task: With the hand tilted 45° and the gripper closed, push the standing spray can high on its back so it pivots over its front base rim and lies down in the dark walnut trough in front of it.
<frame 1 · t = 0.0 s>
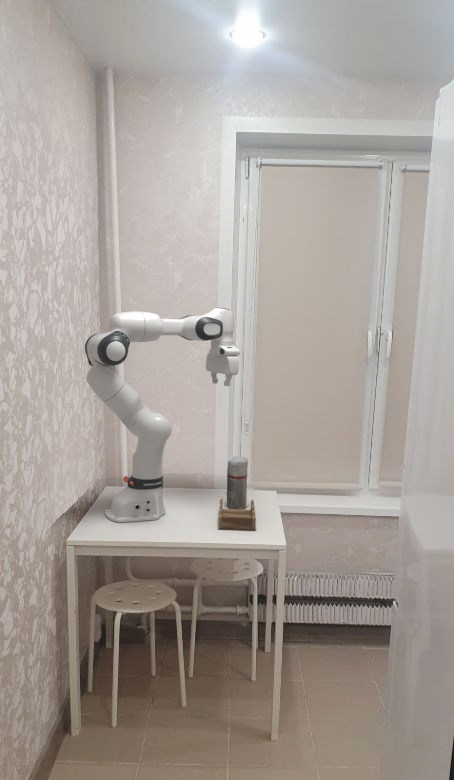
hand: (220, 384, 238), 48 cm above the table, tool pointing down, fingers open, 8 cm apart
spray can: (236, 507, 239), on the table
walnut trough: (236, 519, 223), on the table
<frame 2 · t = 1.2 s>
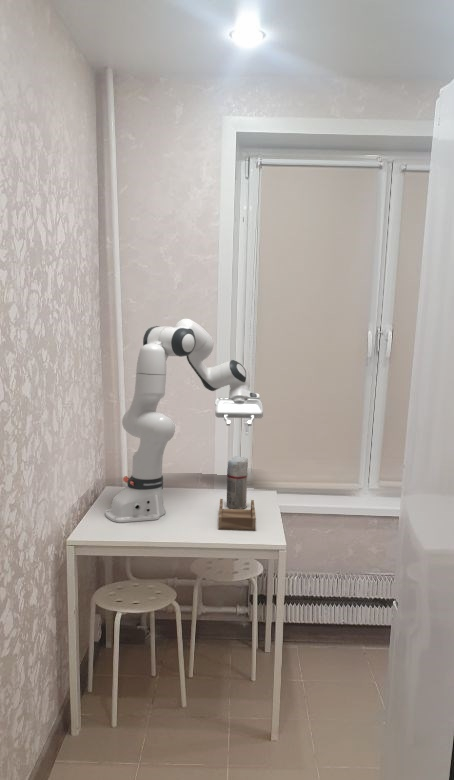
hand: (238, 425, 250), 30 cm above the table, tool tilted 45°, fingers open, 8 cm apart
nothing on the table moved.
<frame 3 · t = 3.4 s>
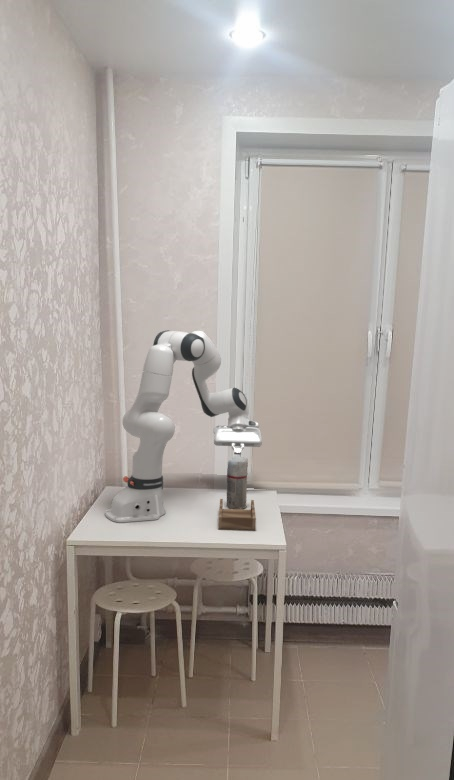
hand: (237, 453, 250), 18 cm above the table, tool tilted 45°, fingers closed
nothing on the table moved.
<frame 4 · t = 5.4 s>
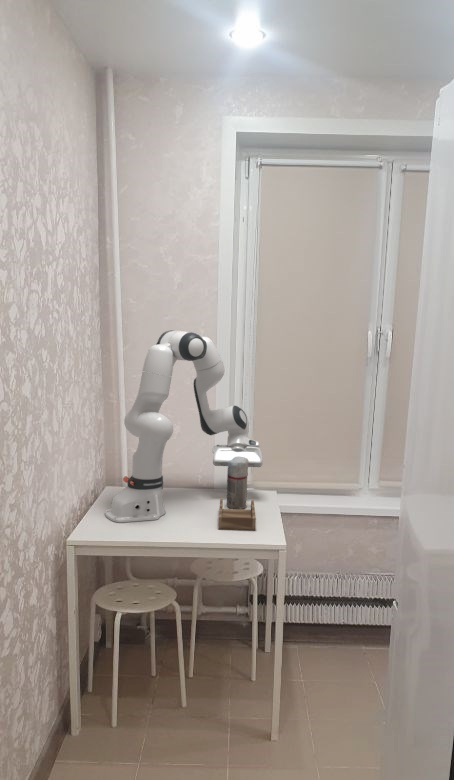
hand: (237, 474, 241), 12 cm above the table, tool tilted 45°, fingers closed, pressing on spray can
spray can: (236, 506, 239), on the table, touching gripper
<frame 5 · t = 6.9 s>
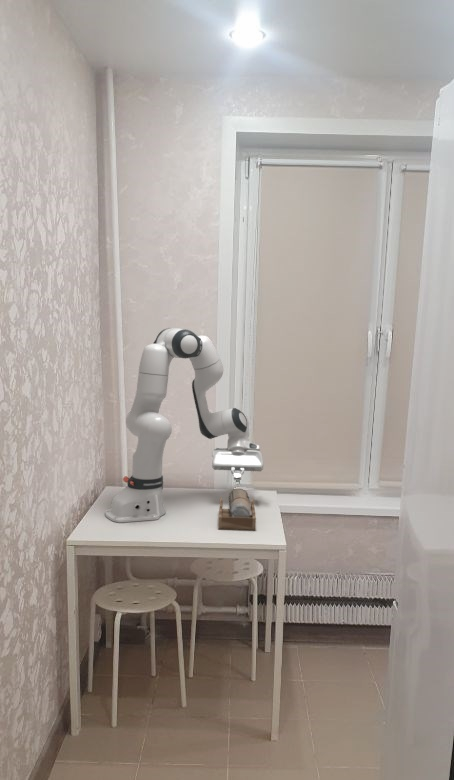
hand: (237, 479, 234), 12 cm above the table, tool tilted 45°, fingers closed
spray can: (238, 498, 235), point 4 cm above the table, touching walnut trough
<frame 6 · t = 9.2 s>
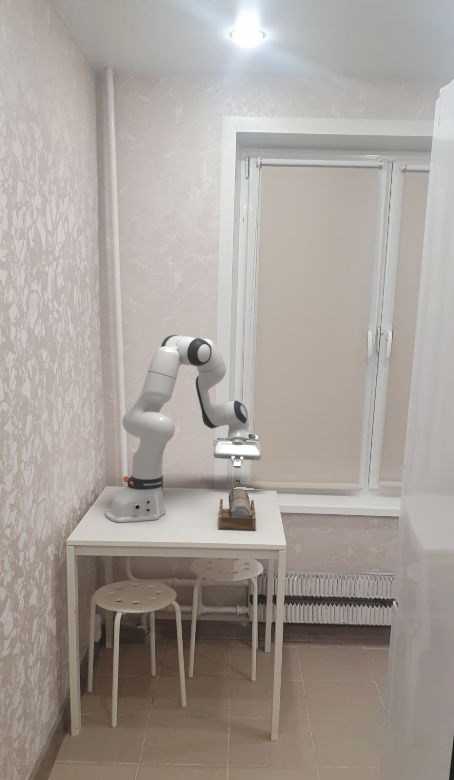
hand: (237, 467, 250), 13 cm above the table, tool tilted 45°, fingers closed
nothing on the table moved.
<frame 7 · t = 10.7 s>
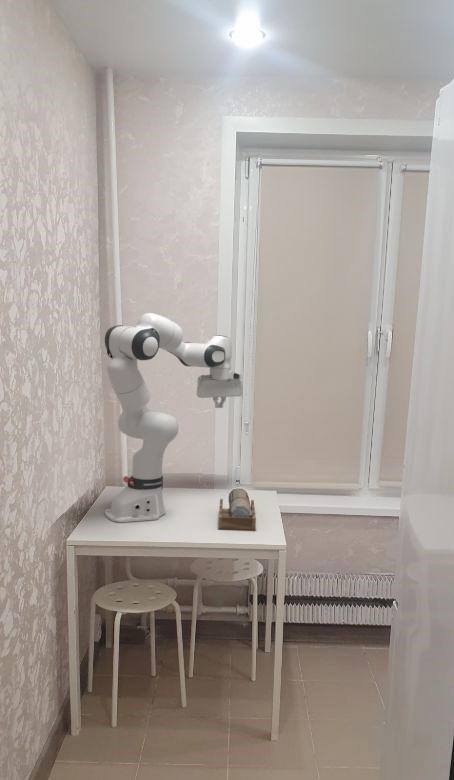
hand: (219, 407, 250), 37 cm above the table, tool pointing down, fingers closed
nothing on the table moved.
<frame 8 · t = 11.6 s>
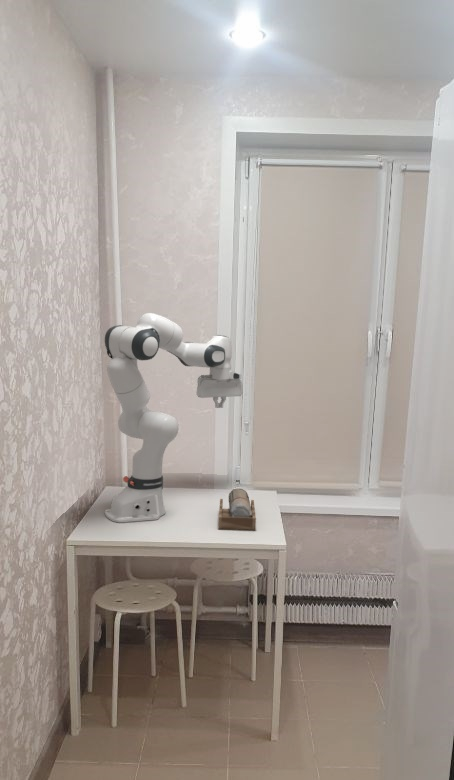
hand: (219, 407, 250), 37 cm above the table, tool pointing down, fingers closed
nothing on the table moved.
at the end: spray can tilted 88°; spray can touching walnut trough; spray can inside the target area on the walnut trough (1.8 cm from its centre), point 4.3 cm above the walnut trough's base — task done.
